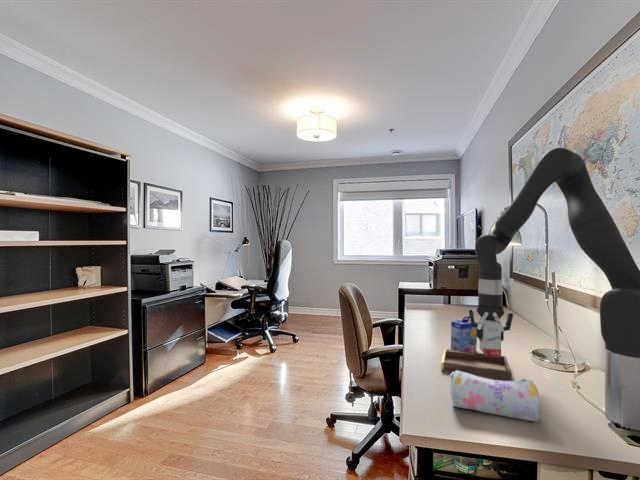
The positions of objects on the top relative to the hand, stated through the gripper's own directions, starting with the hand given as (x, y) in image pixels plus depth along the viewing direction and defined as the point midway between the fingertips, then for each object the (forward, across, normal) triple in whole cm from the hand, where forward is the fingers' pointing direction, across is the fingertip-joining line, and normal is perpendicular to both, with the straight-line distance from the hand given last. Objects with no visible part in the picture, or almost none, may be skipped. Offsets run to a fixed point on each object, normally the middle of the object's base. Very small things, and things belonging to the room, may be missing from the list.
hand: (490, 340), depth 114 cm
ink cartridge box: (+11, -8, +18) cm, 22 cm away
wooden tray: (+10, -5, 0) cm, 11 cm away
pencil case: (+11, -1, -31) cm, 33 cm away
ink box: (+5, 0, 0) cm, 5 cm away
